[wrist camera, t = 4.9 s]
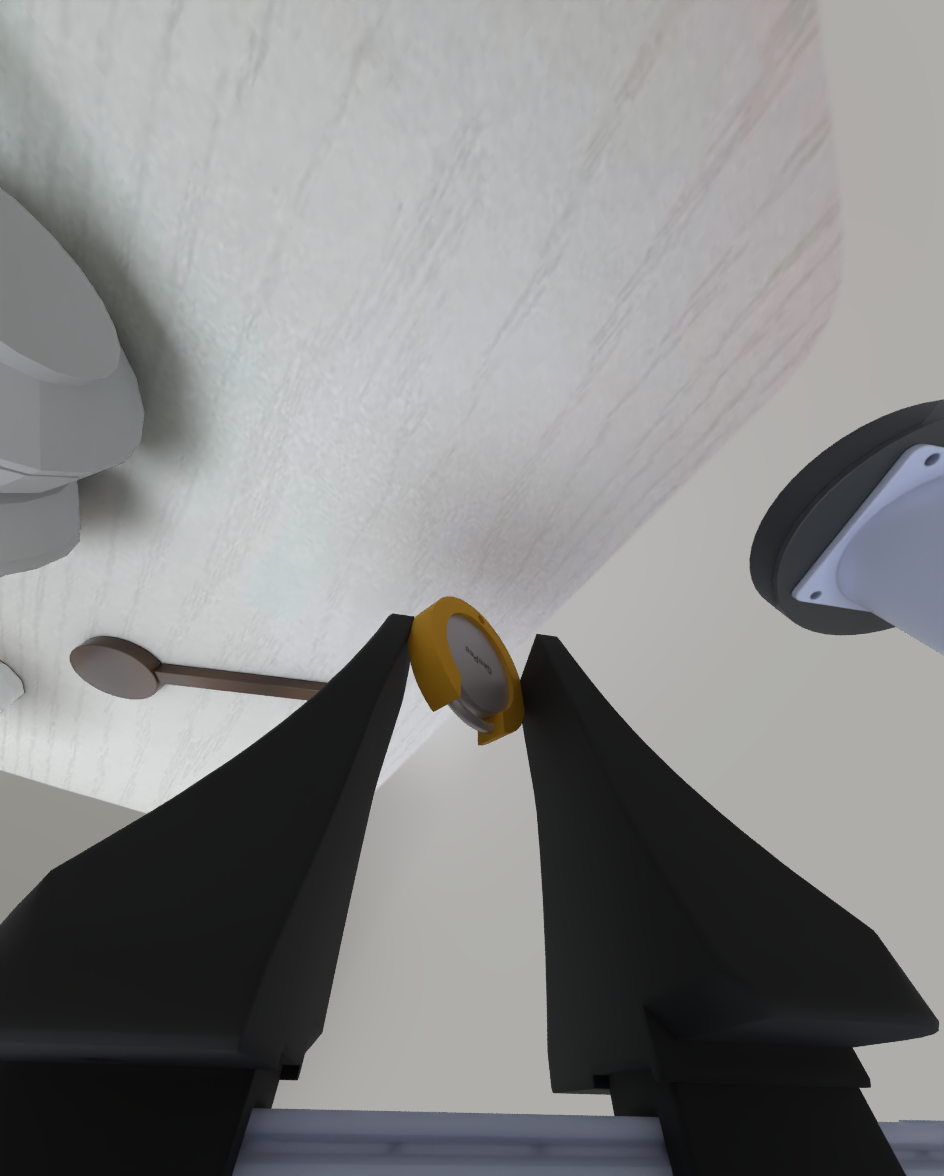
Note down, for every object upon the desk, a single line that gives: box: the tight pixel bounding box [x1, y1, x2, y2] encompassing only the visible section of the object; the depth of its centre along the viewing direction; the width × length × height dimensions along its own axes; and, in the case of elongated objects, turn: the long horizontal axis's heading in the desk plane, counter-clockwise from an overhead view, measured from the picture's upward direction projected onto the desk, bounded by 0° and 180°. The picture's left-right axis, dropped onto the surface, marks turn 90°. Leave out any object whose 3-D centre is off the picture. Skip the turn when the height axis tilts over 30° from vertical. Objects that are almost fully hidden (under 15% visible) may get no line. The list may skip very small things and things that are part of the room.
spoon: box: [70, 637, 327, 700], centre depth 22 cm, size 20×5×1 cm, turn 81°
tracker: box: [408, 597, 525, 745], centre depth 9 cm, size 4×1×4 cm, turn 39°
